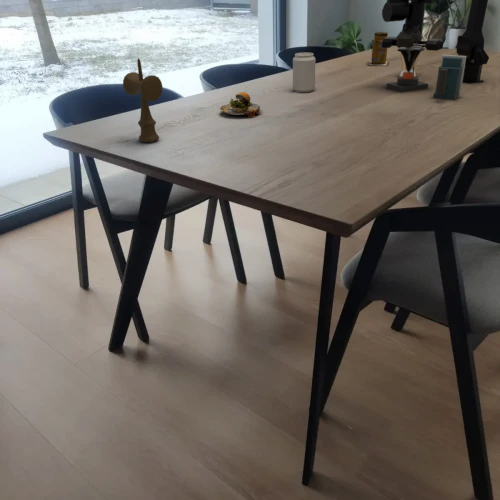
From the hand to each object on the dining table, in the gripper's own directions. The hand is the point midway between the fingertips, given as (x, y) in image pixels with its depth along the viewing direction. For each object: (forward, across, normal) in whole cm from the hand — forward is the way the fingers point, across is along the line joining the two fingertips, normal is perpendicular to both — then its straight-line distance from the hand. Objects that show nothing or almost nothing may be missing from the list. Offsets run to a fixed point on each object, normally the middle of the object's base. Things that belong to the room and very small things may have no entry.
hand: (408, 71), depth 171 cm
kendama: (+6, -36, -85) cm, 93 cm away
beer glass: (+6, -6, +19) cm, 21 cm away
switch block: (+6, 0, 0) cm, 6 cm away
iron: (-1, +15, -5) cm, 16 cm away
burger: (+6, -31, -52) cm, 61 cm away
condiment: (+6, -27, +40) cm, 48 cm away
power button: (+3, 0, 0) cm, 3 cm away
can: (+6, -30, -18) cm, 35 cm away
